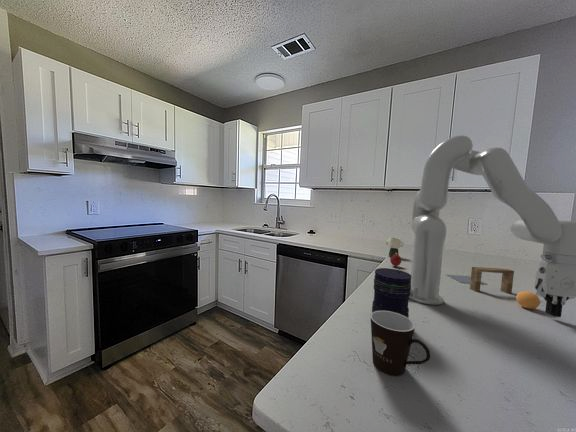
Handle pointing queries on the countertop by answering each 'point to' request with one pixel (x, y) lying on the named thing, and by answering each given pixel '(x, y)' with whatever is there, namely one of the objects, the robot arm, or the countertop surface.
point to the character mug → (394, 245)
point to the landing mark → (462, 278)
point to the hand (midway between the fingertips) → (552, 314)
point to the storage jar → (391, 291)
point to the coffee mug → (393, 342)
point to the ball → (528, 299)
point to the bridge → (506, 273)
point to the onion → (395, 260)
